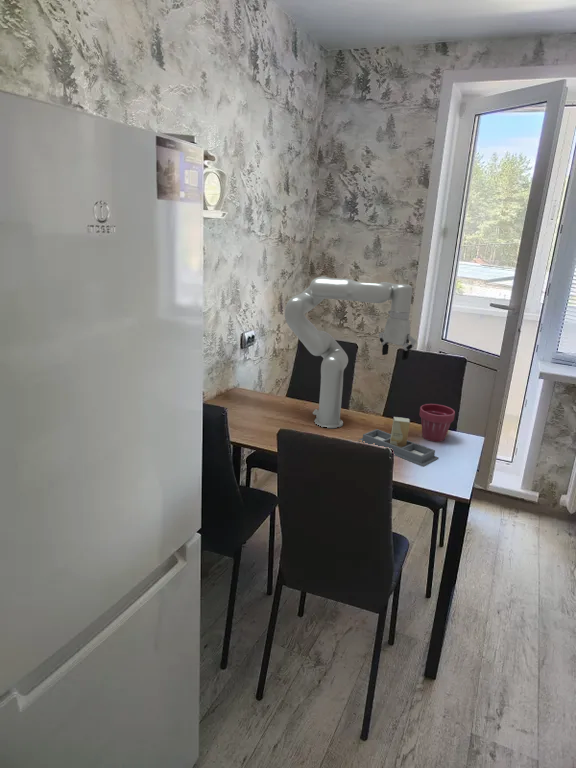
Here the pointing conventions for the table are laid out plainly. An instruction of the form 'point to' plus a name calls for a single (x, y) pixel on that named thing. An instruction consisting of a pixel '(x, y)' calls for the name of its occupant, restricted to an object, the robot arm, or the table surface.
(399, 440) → the skincare box
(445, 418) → the plant pot
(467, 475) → the table surface
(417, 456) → the three-slot frame tray
